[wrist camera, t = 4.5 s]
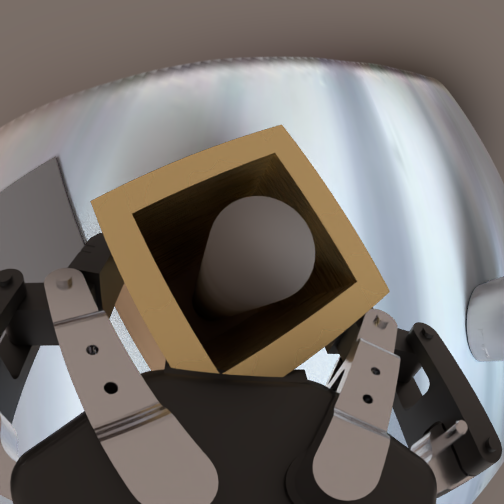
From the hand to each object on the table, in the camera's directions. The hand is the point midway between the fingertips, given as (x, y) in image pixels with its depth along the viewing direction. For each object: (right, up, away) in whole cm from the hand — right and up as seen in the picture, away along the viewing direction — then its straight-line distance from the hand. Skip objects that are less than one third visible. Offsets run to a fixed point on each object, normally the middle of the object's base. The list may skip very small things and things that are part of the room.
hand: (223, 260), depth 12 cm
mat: (-16, 0, +3) cm, 16 cm away
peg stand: (-2, -3, +6) cm, 7 cm away
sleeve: (-1, -2, +4) cm, 5 cm away
